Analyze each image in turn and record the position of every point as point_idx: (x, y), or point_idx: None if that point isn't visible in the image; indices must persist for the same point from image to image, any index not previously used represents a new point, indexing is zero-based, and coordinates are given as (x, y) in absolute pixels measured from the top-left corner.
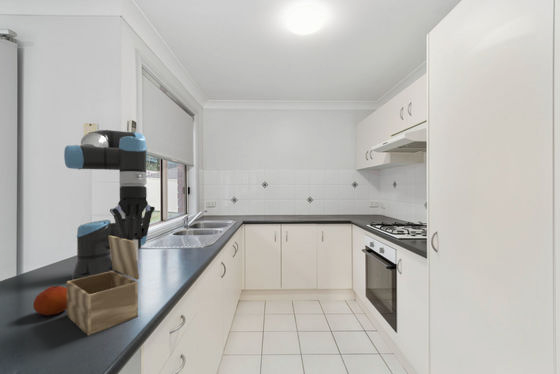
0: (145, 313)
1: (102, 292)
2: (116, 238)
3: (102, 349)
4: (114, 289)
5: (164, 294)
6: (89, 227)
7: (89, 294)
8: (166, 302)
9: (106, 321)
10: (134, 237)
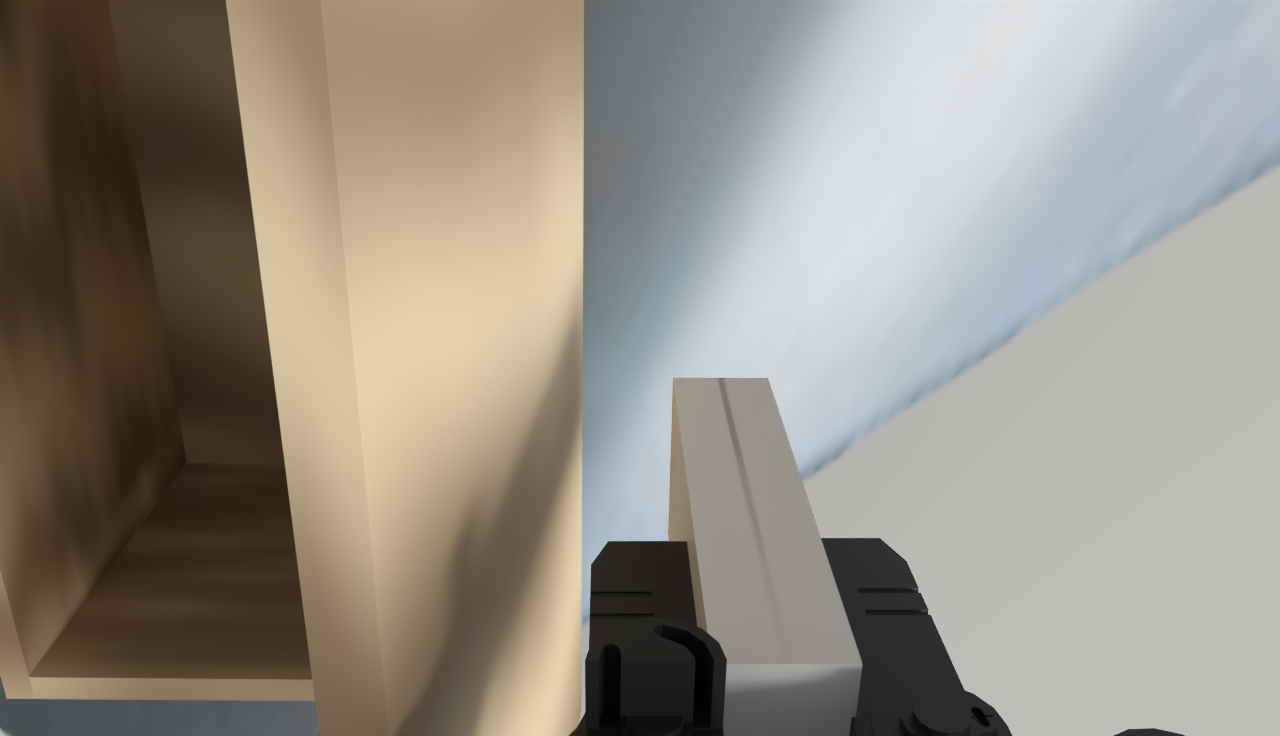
0: (649, 463)
1: (158, 692)
2: (314, 624)
3: (220, 710)
4: (286, 692)
5: (1051, 182)
6: None
7: (25, 673)
8: (908, 404)
9: None
10: (870, 724)
